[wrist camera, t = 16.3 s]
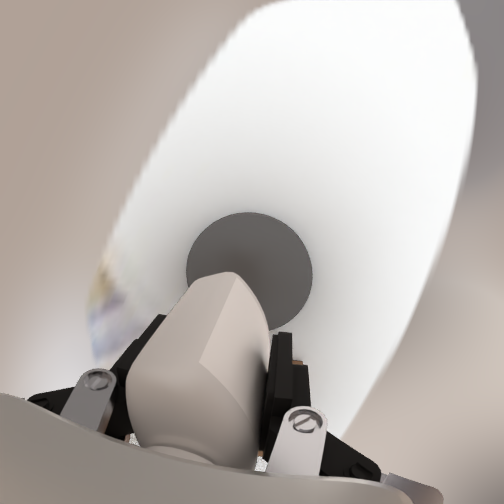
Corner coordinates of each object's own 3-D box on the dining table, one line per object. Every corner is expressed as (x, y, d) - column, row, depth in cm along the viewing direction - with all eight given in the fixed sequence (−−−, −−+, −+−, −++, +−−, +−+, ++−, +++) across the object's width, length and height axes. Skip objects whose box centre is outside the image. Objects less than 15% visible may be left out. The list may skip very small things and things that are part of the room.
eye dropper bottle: (291, 282, 14) (289, 578, 2) (262, 376, 15) (228, 597, 4) (198, 259, 14) (11, 479, 2) (184, 355, 15) (83, 552, 4)
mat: (301, 335, 23) (301, 339, 22) (188, 320, 23) (186, 324, 23) (319, 220, 20) (320, 221, 20) (191, 207, 21) (188, 208, 20)
